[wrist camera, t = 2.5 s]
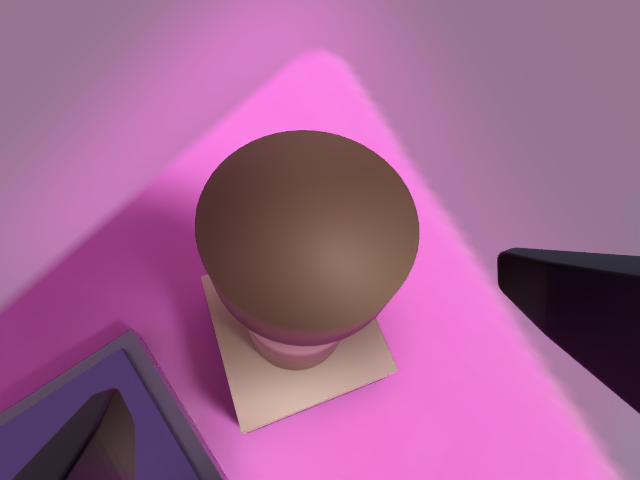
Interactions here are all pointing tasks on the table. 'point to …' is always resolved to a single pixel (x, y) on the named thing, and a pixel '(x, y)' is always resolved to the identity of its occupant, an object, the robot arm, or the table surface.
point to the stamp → (302, 269)
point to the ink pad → (142, 401)
